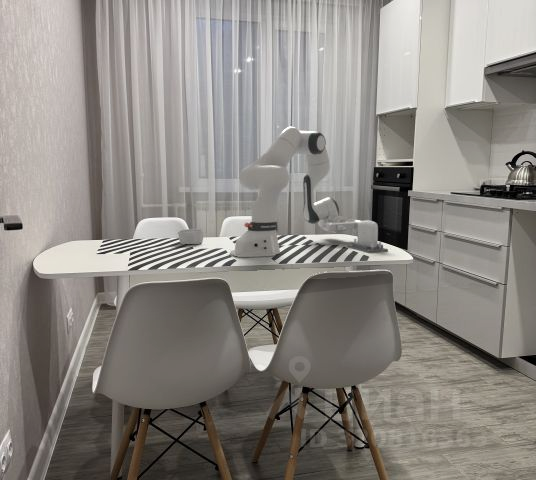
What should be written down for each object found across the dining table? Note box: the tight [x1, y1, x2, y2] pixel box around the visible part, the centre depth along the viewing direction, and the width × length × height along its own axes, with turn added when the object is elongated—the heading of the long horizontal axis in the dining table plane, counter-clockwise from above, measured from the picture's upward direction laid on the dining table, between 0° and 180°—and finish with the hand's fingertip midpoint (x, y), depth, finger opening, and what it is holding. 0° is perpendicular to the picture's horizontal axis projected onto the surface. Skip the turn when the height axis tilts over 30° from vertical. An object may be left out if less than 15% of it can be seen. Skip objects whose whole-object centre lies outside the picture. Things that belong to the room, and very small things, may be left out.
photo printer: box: [357, 219, 379, 248], centre depth 218 cm, size 10×4×12 cm, turn 36°
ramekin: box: [177, 228, 205, 245], centre depth 241 cm, size 13×13×7 cm
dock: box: [347, 238, 389, 254], centre depth 219 cm, size 10×18×4 cm, turn 22°
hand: (352, 227), depth 230 cm, fingers open, 8 cm apart
